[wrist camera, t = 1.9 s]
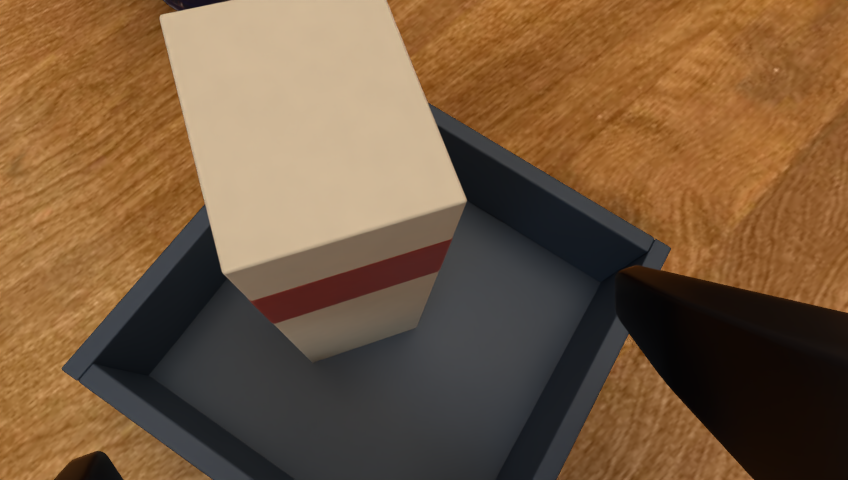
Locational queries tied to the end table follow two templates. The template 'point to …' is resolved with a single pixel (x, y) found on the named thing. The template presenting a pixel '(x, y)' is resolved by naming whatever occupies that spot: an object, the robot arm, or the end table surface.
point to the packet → (316, 164)
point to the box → (388, 347)
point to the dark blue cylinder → (190, 3)
